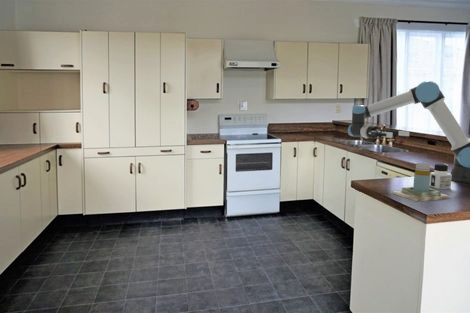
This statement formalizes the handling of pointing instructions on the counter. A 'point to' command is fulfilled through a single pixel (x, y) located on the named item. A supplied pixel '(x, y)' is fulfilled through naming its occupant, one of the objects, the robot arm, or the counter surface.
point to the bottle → (422, 177)
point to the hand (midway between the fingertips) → (400, 134)
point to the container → (440, 177)
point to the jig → (420, 194)
